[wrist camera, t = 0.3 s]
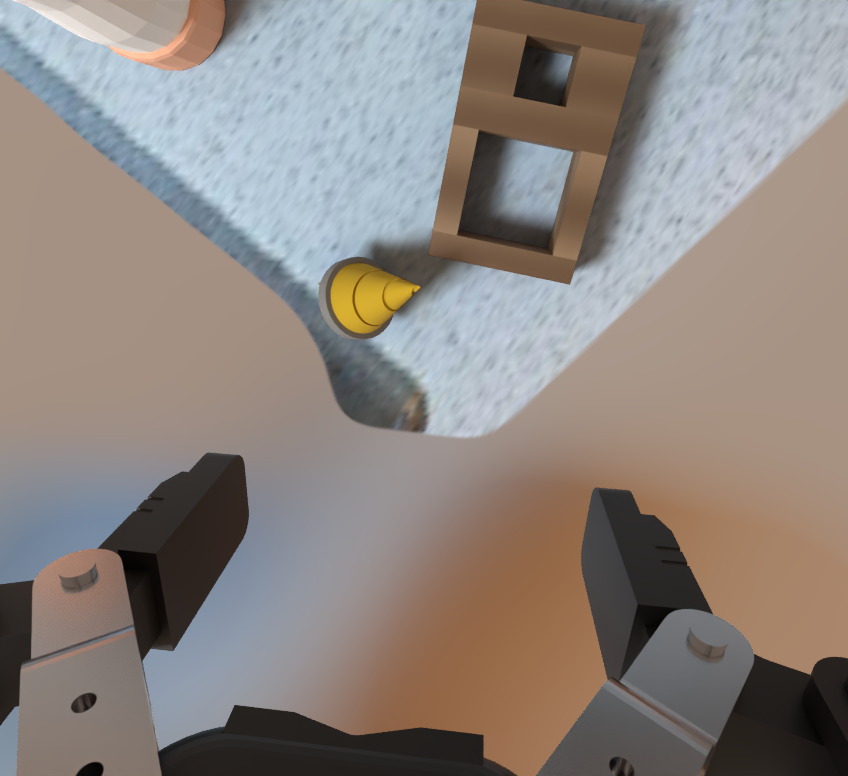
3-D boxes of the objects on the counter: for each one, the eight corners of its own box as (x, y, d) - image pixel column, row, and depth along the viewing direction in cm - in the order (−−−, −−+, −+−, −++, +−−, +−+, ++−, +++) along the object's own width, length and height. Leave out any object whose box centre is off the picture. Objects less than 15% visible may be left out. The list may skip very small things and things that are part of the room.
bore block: (478, 5, 33) (478, -9, 30) (631, 36, 32) (645, 25, 30) (431, 248, 38) (428, 254, 35) (563, 275, 38) (569, 284, 35)
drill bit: (318, 250, 39) (402, 220, 31) (376, 291, 42) (466, 273, 34) (286, 317, 38) (365, 303, 30) (348, 354, 41) (435, 351, 33)
